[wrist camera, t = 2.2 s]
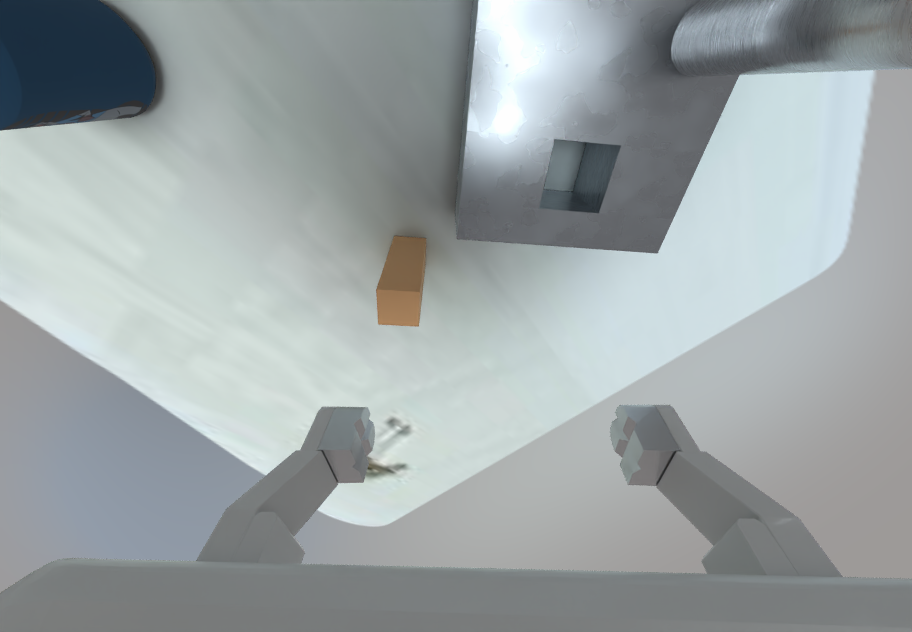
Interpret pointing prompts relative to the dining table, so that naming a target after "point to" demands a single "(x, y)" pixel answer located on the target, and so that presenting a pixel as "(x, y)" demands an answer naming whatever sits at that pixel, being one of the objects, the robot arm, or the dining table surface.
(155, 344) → the dining table surface
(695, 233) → the dining table surface
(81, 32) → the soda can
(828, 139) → the dining table surface
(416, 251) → the orange brown rectangular block
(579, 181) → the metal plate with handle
